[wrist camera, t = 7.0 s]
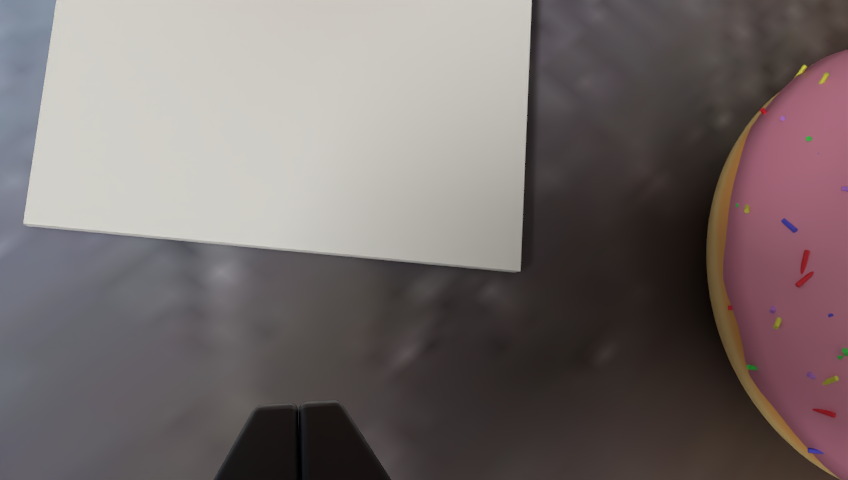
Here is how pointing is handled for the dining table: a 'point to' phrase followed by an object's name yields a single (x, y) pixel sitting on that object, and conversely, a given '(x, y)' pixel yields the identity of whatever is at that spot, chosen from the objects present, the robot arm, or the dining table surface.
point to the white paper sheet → (290, 126)
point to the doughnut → (789, 262)
